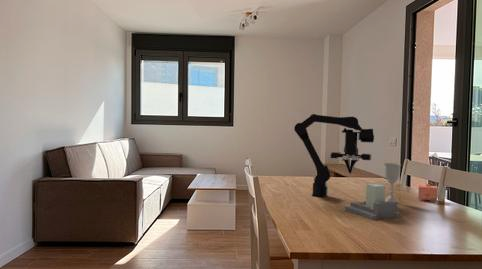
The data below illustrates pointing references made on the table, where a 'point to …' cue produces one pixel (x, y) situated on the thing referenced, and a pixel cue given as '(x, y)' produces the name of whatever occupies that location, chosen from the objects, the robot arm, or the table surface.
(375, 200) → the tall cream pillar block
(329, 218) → the table surface
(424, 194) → the pink cube teapot
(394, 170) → the chalice
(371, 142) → the robot arm
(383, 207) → the track
